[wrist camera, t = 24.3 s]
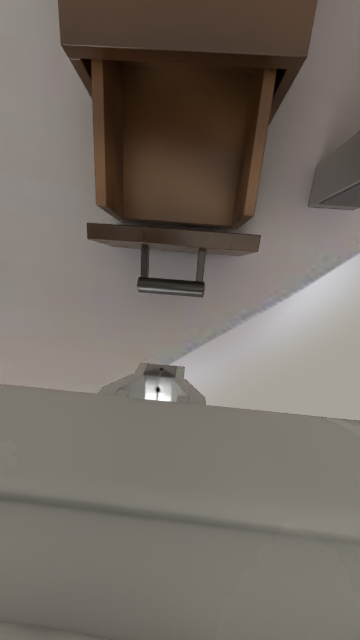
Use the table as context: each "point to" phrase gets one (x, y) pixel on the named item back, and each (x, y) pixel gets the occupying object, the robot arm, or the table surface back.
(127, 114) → the drawer
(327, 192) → the grey block
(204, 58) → the cabinet
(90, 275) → the table surface
